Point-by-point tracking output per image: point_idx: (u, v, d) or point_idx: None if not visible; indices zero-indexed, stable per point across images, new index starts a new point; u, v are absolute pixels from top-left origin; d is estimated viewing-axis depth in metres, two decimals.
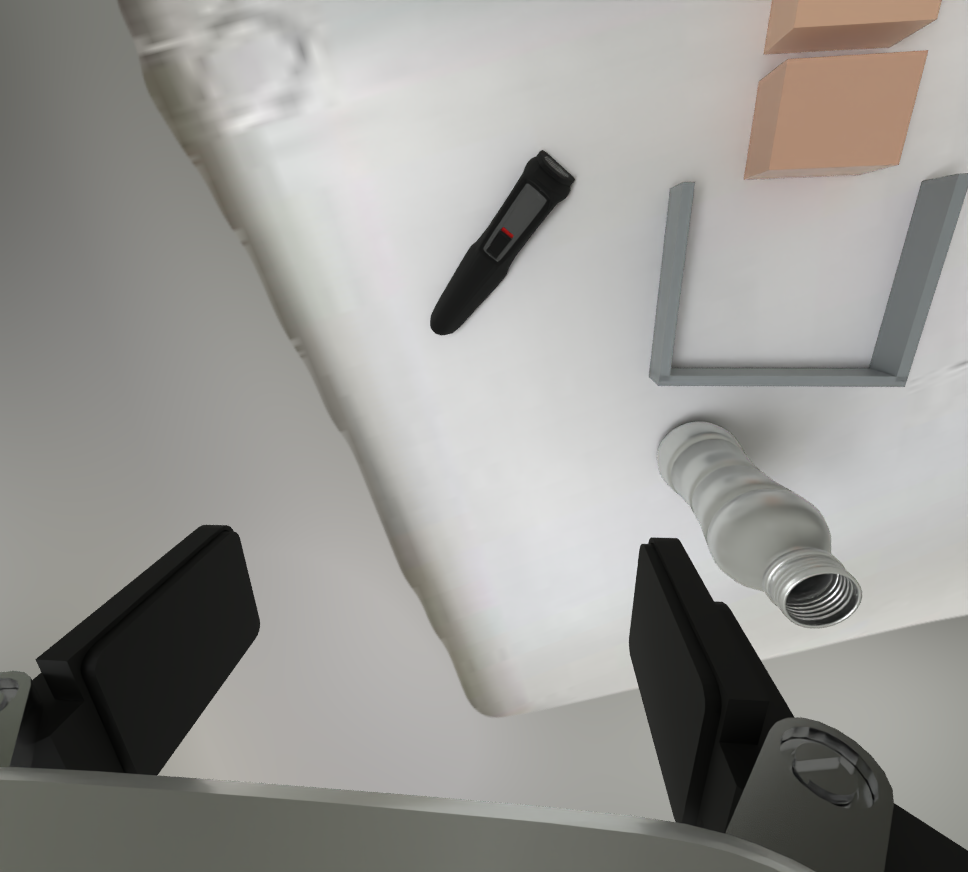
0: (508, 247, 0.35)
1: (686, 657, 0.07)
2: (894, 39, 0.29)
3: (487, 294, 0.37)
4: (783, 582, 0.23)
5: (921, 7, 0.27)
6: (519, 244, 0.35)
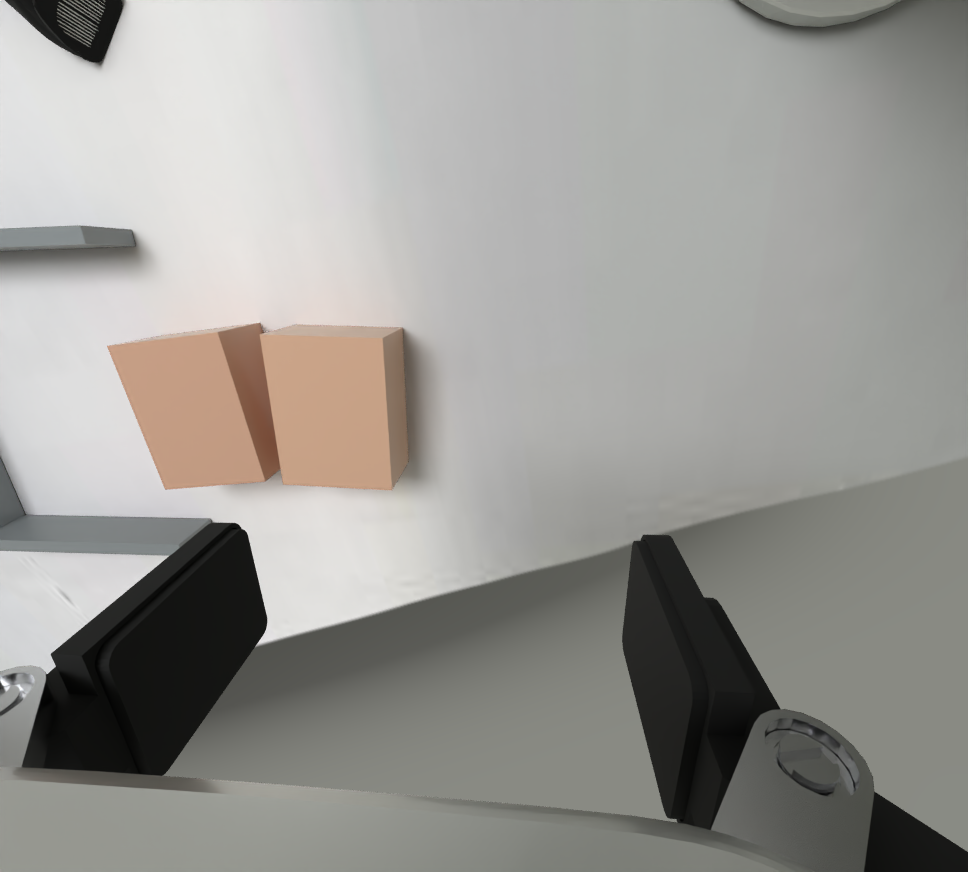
0: None
1: (675, 651, 0.07)
2: None
3: None
4: None
5: (291, 468, 0.24)
6: None
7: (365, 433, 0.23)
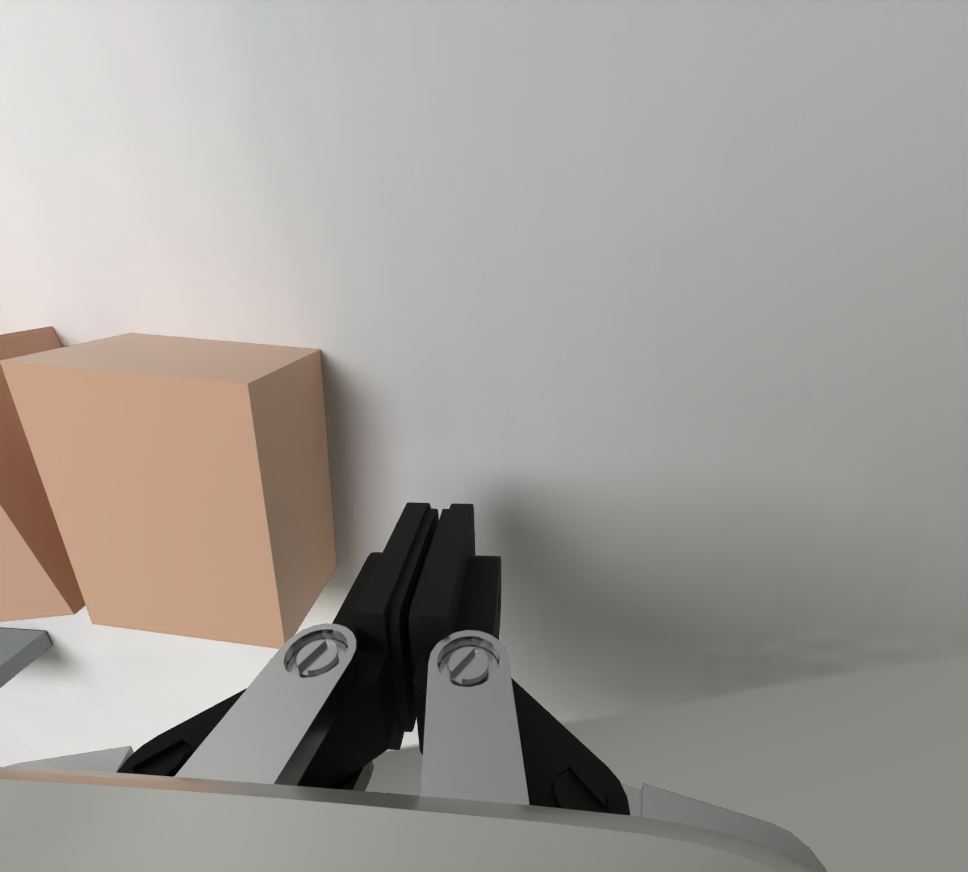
0: None
1: None
2: None
3: None
4: None
5: (102, 600, 0.13)
6: None
7: (229, 554, 0.12)
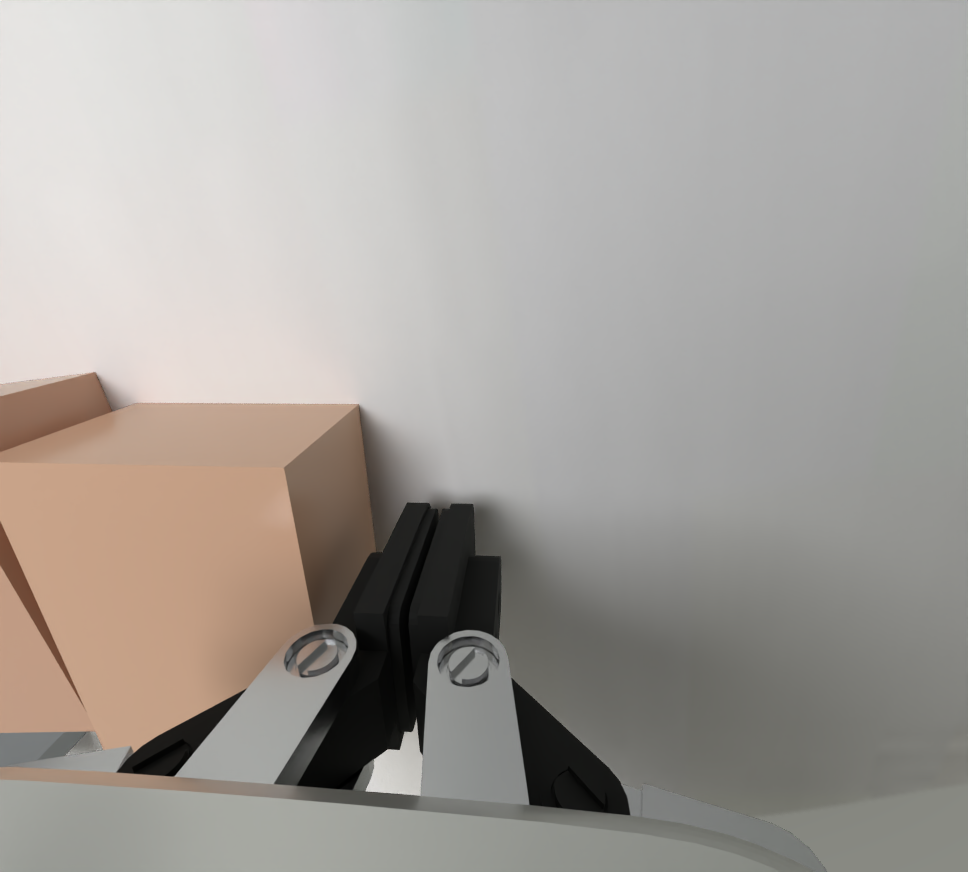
0: None
1: None
2: None
3: None
4: None
5: (117, 731, 0.11)
6: None
7: None
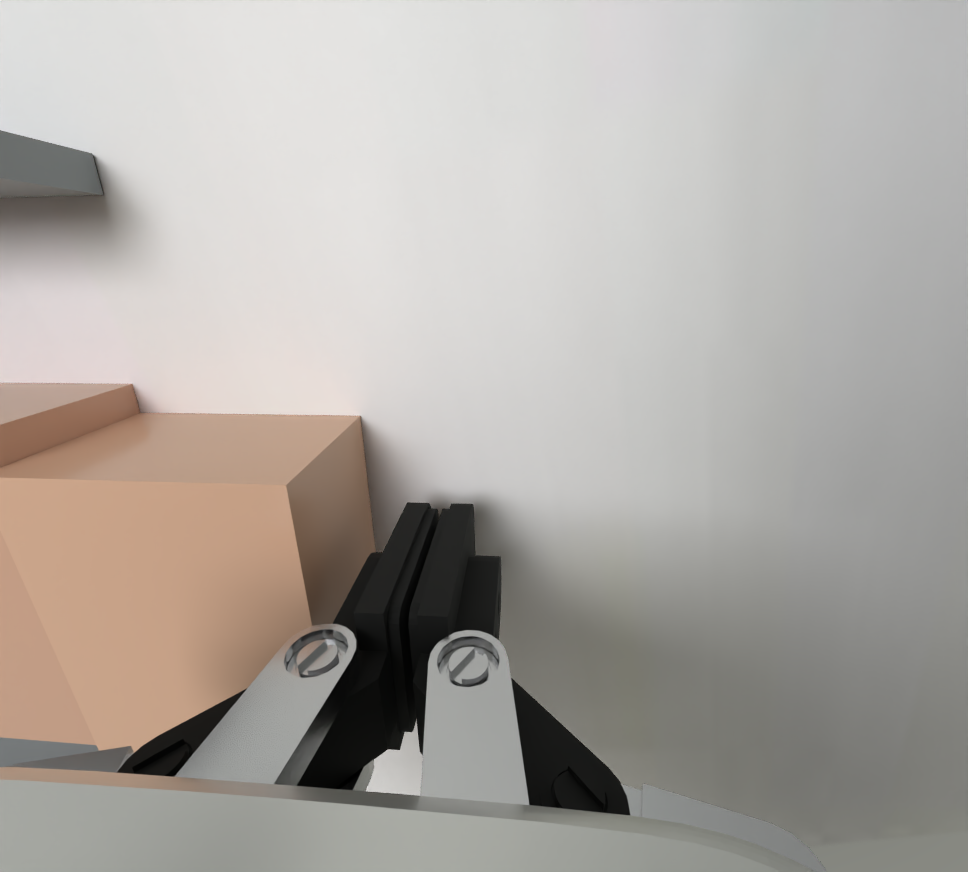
0: None
1: None
2: None
3: None
4: None
5: (117, 742, 0.11)
6: None
7: None
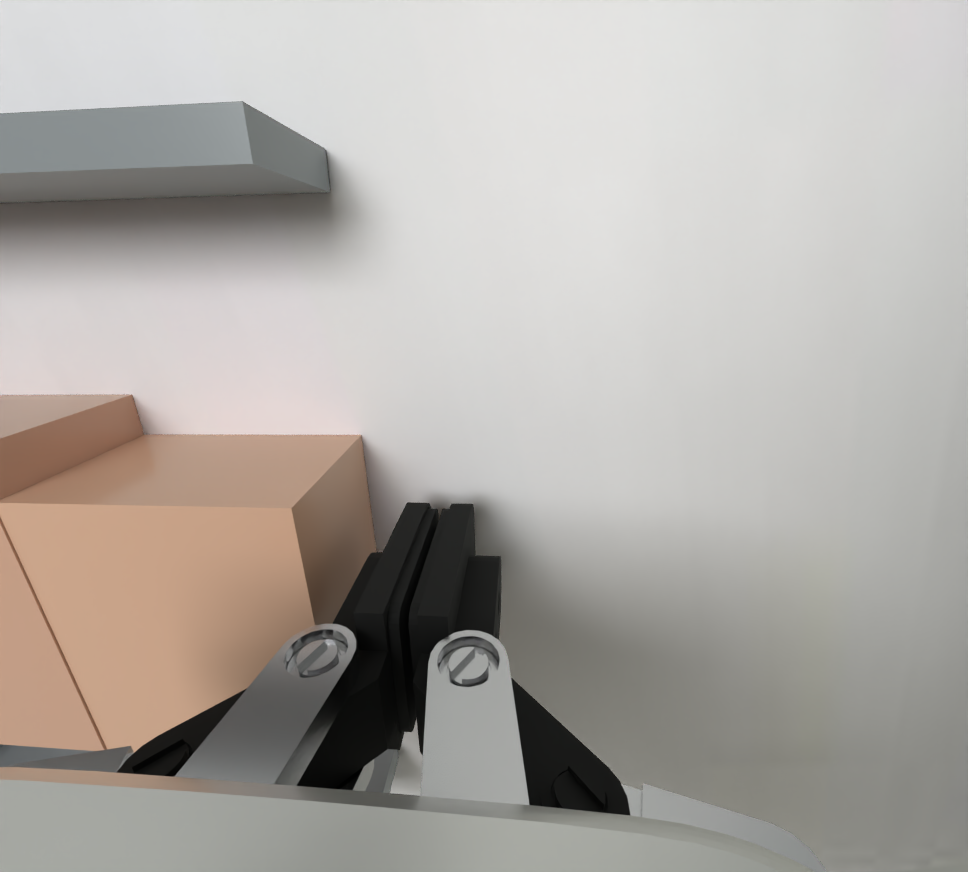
0: None
1: None
2: None
3: None
4: None
5: None
6: None
7: None
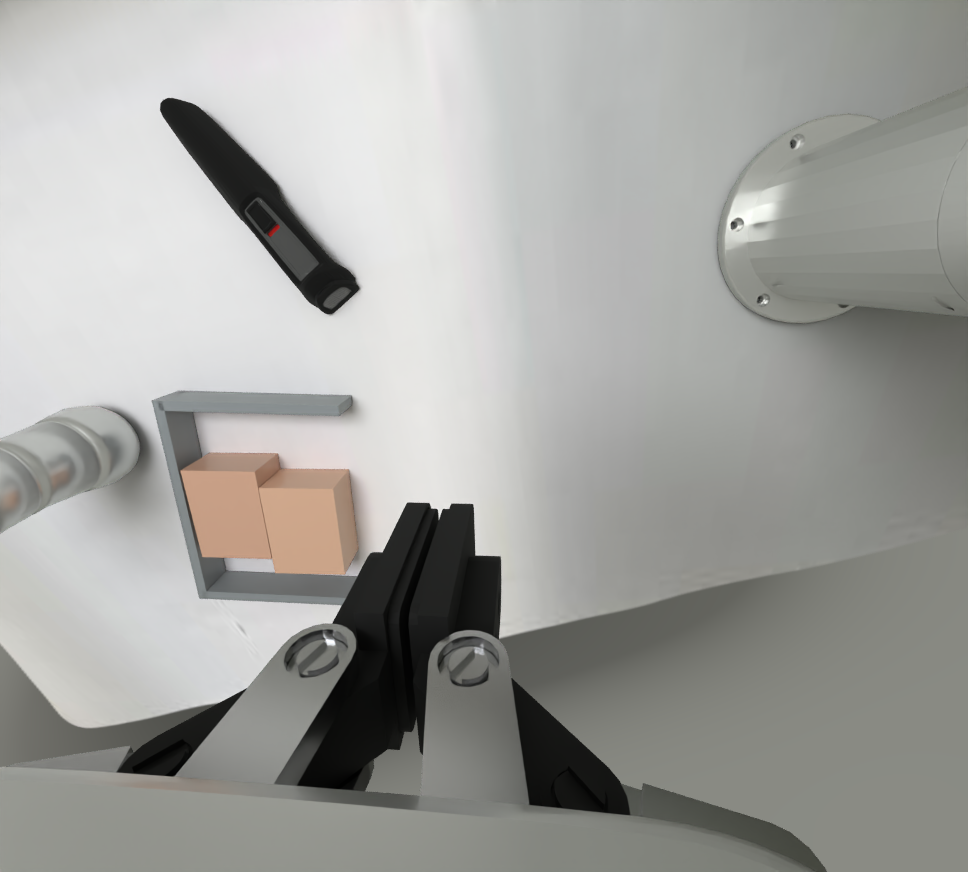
0: (258, 228, 0.31)
1: None
2: None
3: (218, 190, 0.31)
4: None
5: (280, 563, 0.38)
6: (261, 242, 0.32)
7: (326, 541, 0.38)
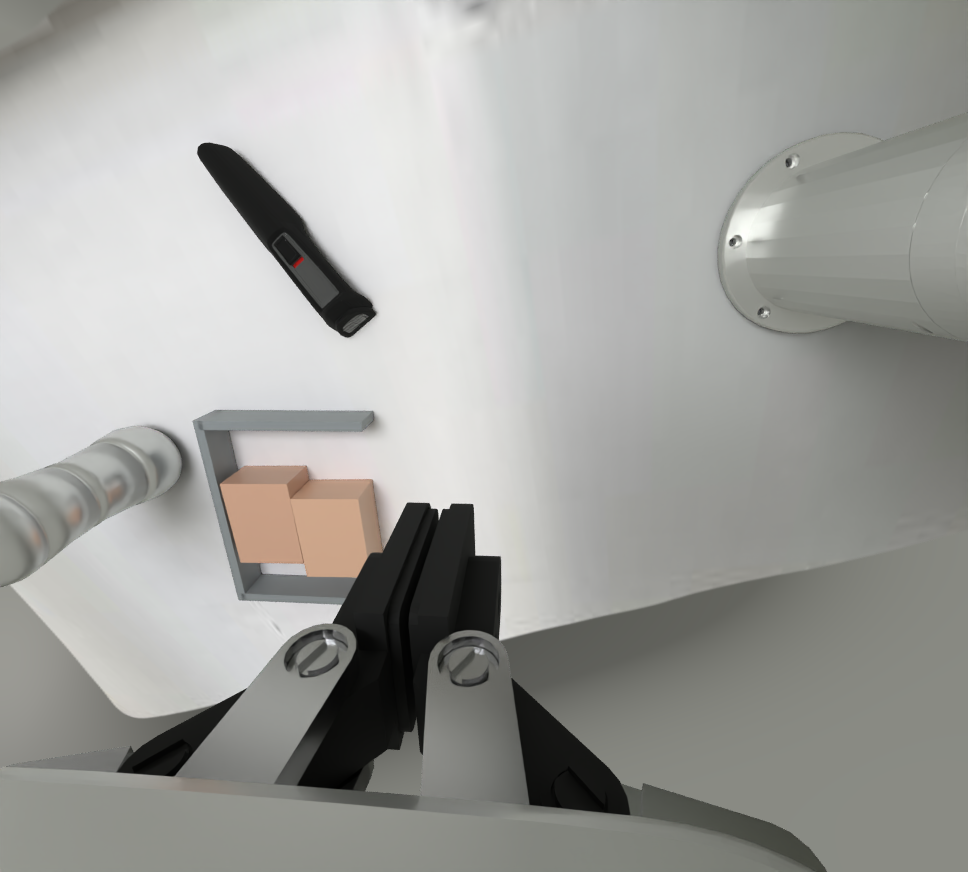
0: (284, 260, 0.34)
1: None
2: None
3: (248, 224, 0.34)
4: None
5: (311, 567, 0.41)
6: (287, 272, 0.34)
7: (352, 547, 0.40)
